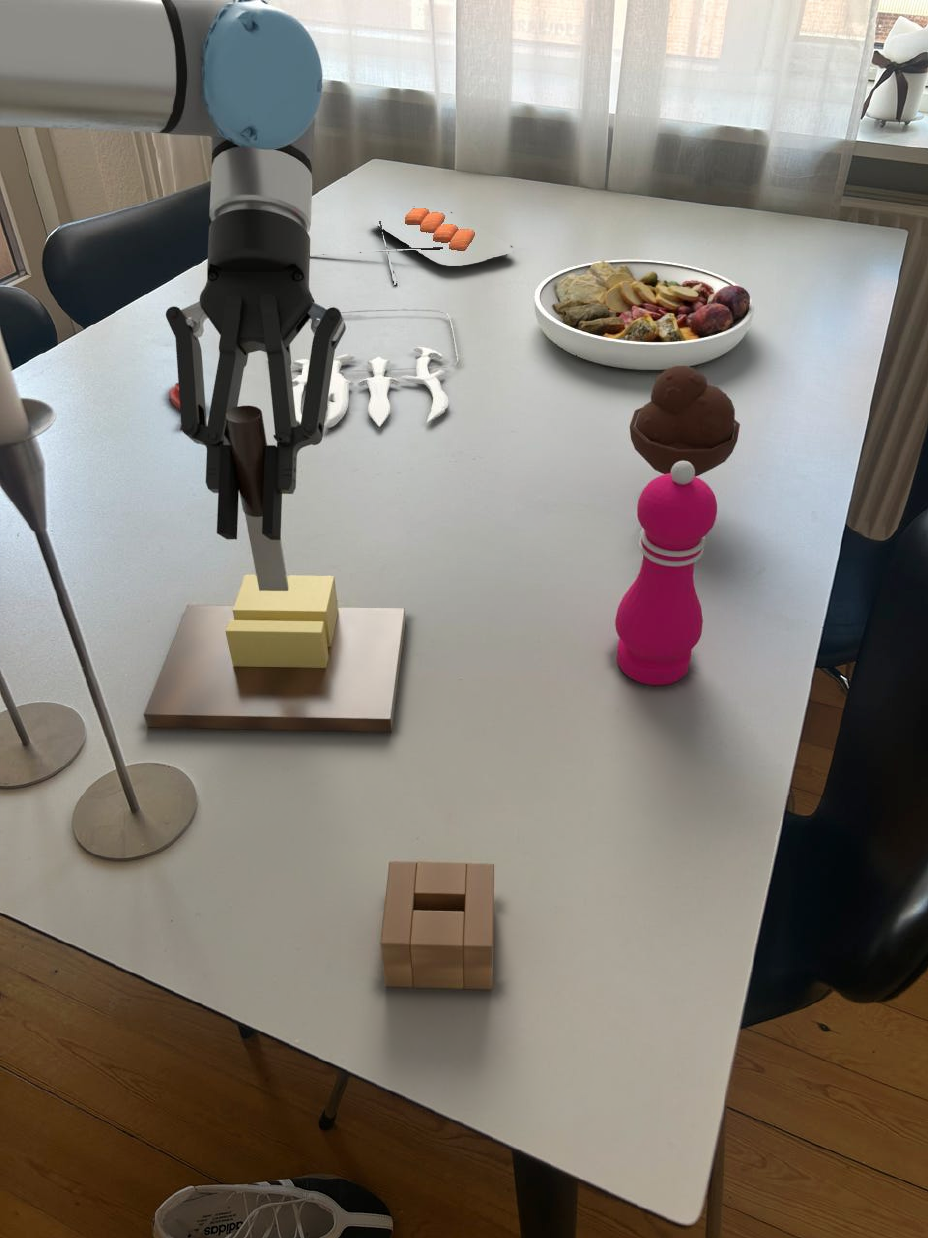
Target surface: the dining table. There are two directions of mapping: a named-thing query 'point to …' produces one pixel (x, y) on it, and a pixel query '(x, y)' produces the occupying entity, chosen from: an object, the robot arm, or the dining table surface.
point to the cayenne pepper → (175, 396)
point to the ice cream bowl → (685, 423)
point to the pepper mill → (666, 578)
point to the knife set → (374, 384)
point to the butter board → (281, 678)
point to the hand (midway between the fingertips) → (249, 535)
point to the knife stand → (438, 925)
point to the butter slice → (277, 643)
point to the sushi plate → (439, 229)
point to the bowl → (643, 313)
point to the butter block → (290, 601)
